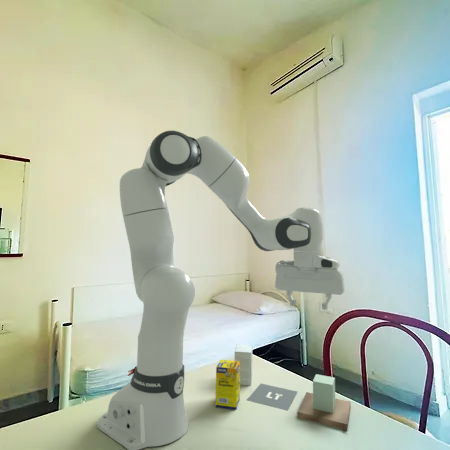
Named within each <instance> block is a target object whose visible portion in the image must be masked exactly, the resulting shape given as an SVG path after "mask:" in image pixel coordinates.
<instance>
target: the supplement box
mask: <svg viewBox="0 0 450 450" xmlns="http://www.w3.org/2000/svg"><path fill="white" fill-rule="evenodd" d="M215 369H216V371H215V408H219V409H225V410H226V409H227V410H235V411H236V410H237V409H238V408H237V407H238V405H239V402H240V396H241V395H240V394H241V393H240V391H241V390H240V388H241V387H240V386H241V385H240V361H235V360H228V359H220V360H219V362H218V364H217V365H216V367H215Z"/></svg>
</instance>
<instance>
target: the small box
mask: <svg viewBox="0 0 450 450" xmlns="http://www.w3.org/2000/svg"><path fill="white" fill-rule="evenodd" d="M234 361H240V386H252V380H253V344H241V343H237V344H236V347H235V349H234Z"/></svg>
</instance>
